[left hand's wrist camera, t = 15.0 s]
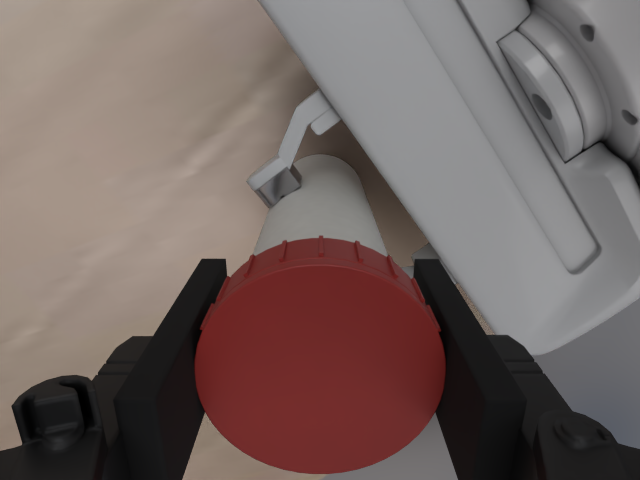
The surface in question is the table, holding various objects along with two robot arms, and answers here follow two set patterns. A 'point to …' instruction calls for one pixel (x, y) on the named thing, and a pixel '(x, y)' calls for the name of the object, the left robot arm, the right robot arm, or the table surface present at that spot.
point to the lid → (320, 357)
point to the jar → (322, 207)
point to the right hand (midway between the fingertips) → (304, 248)
